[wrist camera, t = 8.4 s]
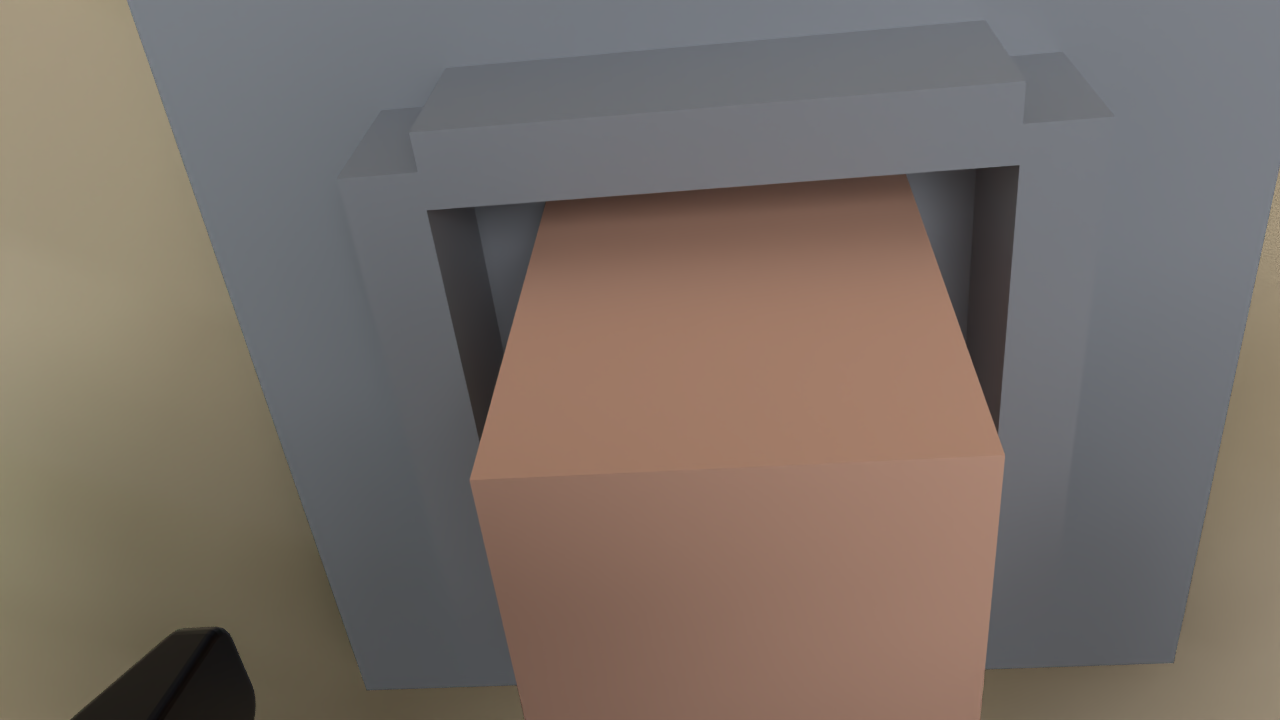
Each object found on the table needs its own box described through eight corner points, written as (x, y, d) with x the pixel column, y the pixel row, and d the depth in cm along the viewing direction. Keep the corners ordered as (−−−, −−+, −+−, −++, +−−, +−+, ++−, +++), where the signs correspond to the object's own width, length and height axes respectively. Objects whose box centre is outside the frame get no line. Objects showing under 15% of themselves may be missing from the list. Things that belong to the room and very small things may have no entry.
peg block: (590, 474, 15) (544, 805, 11) (546, 199, 13) (468, 480, 9) (897, 460, 15) (973, 797, 10) (905, 174, 13) (1004, 455, 8)
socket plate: (375, 660, 18) (334, 790, 16) (104, -154, 12) (-22, -106, 10) (1159, 631, 17) (1220, 769, 15) (1344, -292, 10) (1495, -269, 8)
